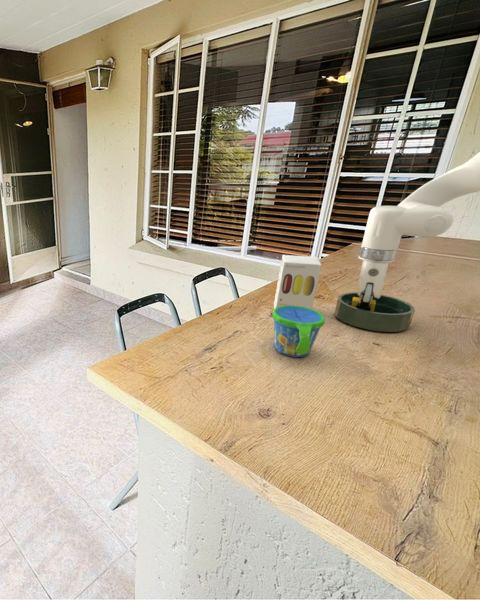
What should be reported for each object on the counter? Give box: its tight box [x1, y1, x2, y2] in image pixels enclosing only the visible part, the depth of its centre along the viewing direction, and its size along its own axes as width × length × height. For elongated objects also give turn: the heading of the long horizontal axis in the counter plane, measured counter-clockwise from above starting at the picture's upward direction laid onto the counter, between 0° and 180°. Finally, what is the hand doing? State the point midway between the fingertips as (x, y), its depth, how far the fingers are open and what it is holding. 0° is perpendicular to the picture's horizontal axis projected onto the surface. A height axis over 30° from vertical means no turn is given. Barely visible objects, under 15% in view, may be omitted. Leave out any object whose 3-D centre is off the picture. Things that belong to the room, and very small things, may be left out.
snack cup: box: [272, 306, 326, 358], centre depth 85 cm, size 16×10×10 cm
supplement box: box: [273, 254, 322, 310], centre depth 104 cm, size 10×9×17 cm
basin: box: [333, 291, 416, 333], centre depth 98 cm, size 17×17×6 cm
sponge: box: [351, 297, 376, 312], centre depth 99 cm, size 5×3×6 cm, turn 52°
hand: (360, 316), depth 99 cm, fingers closed on sponge, 3 cm apart
